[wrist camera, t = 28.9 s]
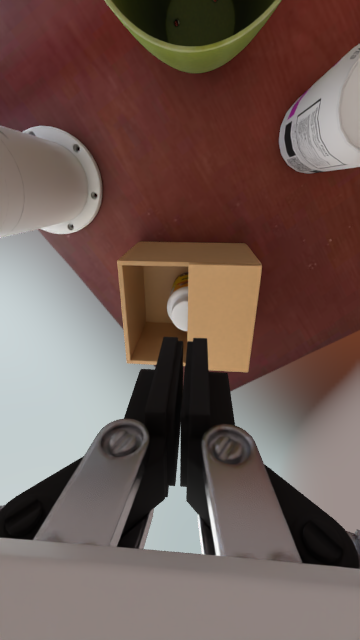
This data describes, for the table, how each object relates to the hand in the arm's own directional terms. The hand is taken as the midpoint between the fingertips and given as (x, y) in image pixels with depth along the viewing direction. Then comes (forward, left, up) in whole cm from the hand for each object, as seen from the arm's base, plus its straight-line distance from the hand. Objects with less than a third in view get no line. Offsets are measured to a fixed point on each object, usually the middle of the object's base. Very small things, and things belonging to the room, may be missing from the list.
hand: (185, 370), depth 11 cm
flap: (+5, -6, -19) cm, 21 cm away
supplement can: (+10, +15, -31) cm, 36 cm away
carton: (+1, -7, -31) cm, 32 cm away
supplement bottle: (+1, -7, -31) cm, 32 cm away
